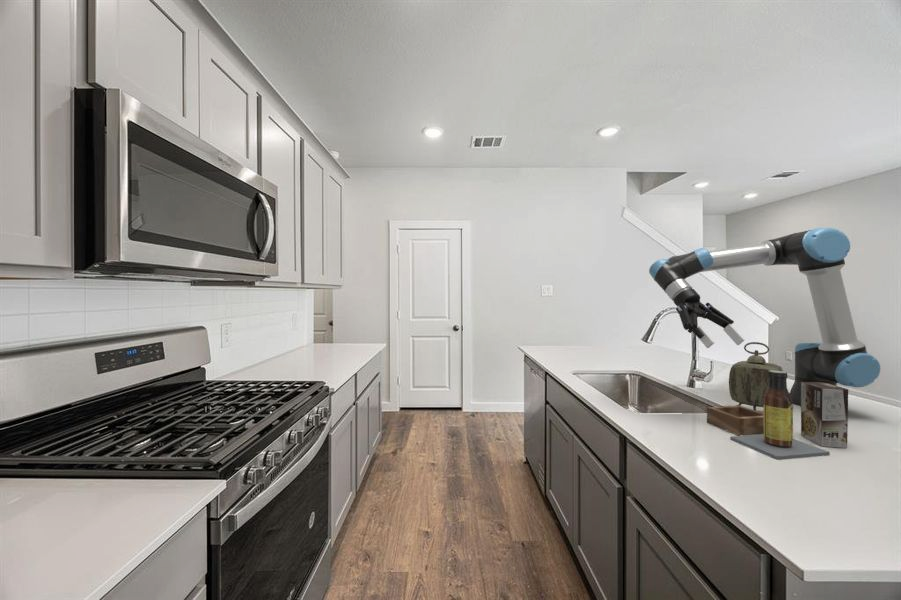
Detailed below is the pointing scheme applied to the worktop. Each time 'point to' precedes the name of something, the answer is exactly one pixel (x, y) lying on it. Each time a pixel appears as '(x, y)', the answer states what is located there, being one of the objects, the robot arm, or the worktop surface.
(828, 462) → the worktop surface
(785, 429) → the sauce bottle
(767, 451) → the rubber mat
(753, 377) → the tabletop clock
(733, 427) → the bottle holder
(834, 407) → the coffee box
